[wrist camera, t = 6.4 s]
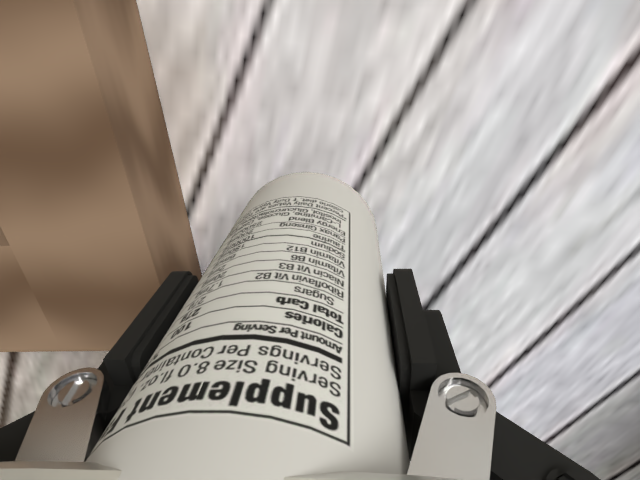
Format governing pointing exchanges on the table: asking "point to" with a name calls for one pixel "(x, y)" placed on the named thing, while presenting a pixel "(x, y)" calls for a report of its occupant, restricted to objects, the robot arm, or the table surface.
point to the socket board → (82, 176)
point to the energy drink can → (273, 353)
